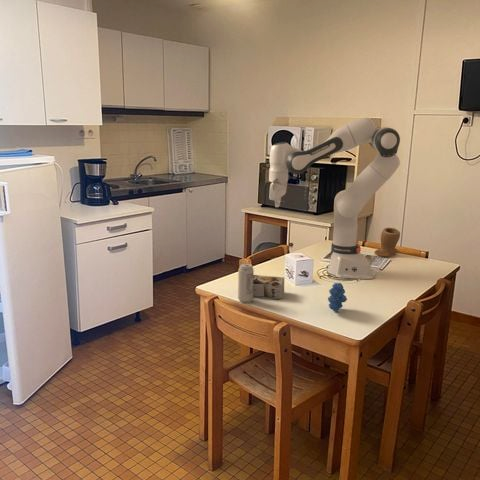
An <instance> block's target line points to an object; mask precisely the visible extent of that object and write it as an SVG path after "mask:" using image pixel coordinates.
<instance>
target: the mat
mask: <svg viewBox="0 0 480 480" xmlns="http://www.w3.org/2000/svg"><path fill="white" fill-rule="evenodd" d="M253 298H259V299H267V300H273V301H278V299H279V298H273V297H263V296H253Z"/></svg>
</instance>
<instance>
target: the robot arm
mask: <svg viewBox="0 0 480 480" xmlns="http://www.w3.org/2000/svg"><path fill="white" fill-rule="evenodd" d="M367 143H368V144H369V145H370V146H371V147H372V148H373V150H375V151H376V155H375V157H374V159H373V160H372V161H371V162H370V163H368V165H367V166H366V167H365V168H364V169H363V170H362V171H361V172H360V173H359V174H358V175H357V176H356V177H355V179H354V180H353V182H352V183H351V184H350V186H349V187H348V188H346V189H344V190H341V191H339V192H338V193H336V195H335V197H334V201H333V231H332V232H333V233H332V241H331V246H330V255H331V257H330V260H329V265H328V267H327V269H326V270H327V272H328V273H329V274H331V275H333V276H335V277H337V278H339V279H353V280H356V279H357V280H359V279H360V280H372V279H374V278H375V277H376V271H375V269H372V265H371V261H370V260H369V258H367V257H366V256H365V255H364V254H362V253H361V250H362V248H361V245H359V244H357V239H358V230H359V229H358V215H359V214H360V212H361V211H362V209H364V208H365V206H366V205H367V203H369V201H370V200H371V198H372V197H373V196H374V195H375V194H376V193H377V192H378V191H379V189H381V187H382V186H384V185H385V183H387V181H389V180H390V178H391V177H392V176H393V174H395V173H396V171H397V169H399V166H400V165H401V161H400V158H399V156H398V155H397V153H398V149H399V147H400V143H401V136H400V134H399V132H398V131H397V130H396V129H394V128H391V127H387V126H385V127H379V126H376V124H375V122H374V121H373V120H372V119H371V118H370V117H362V118H360V119H355V120H352V121H351V122H347V123H345V124H344V125H342V126H340V127H338V128H337V129H336V130H334V131H333V132H332V133H331V134H330V135H329V136H328V138H327V139H326V140H324V141H323V142H322V143H319V144H317V145H315V146H313V147H311V148H309V149H307V150H301V149H298V148H296V147H294V146H292V145H290V144H289V143H288V142H286V141H282V142H277V143H274V144H273V145H272V146H271V147H270V150H269V169H268V181H269V182H270V186H269V192H268V193H269V196H268V199H269V200H270V201H274V207H275V208H279V207H280V206H281V202H282V197H283V196H285V195H286V193H287V188H288V181H289V176H290V175H289V173H291V174H293V175H302V174H304V173H305V172H306V171H307V170H308V169H309V168H310V167H311V166H312V165H313V164H315V163H317V162H318V161H321V160H323V159H325V158H327V157H329V156H331V155H335V154H339V153H343V152H346V151H349V150H352V149H355V148H357V147H358V146H361V145H362V144H367Z"/></svg>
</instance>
